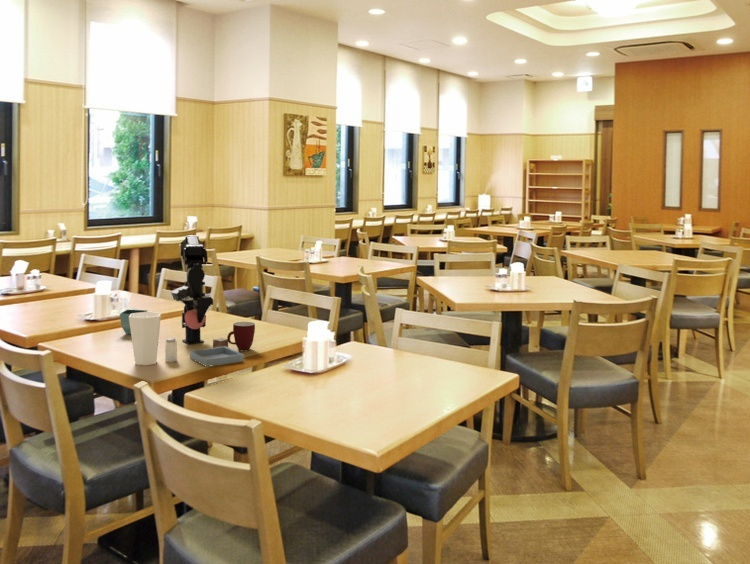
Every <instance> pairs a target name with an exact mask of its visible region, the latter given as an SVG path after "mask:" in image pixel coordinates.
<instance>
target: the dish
mask: <svg viewBox="0 0 750 564" xmlns="http://www.w3.org/2000/svg"><path fill="white" fill-rule="evenodd" d="M191 358H192V359H191ZM189 359H191V360H193V359H194V360H196V361H198V362H200V363H202V364H204V365H206V366H210V365H217V366H222V365H228V364H236V363H242V362H244V354H243V353H241V352H240V351H237V350H234V349H232V348H230V347H229V346H228V347H226V346H223V347H216V348H213V347H211V348H210V347H209V348H202V349H201V348H200V349H194V350H189ZM194 360H193V361H194ZM196 361H195V362H196ZM198 362H197V363H198ZM200 363H199V364H200ZM202 364H201V365H202ZM204 365H203V366H204ZM206 366H205V367H206ZM210 367H211V366H210Z"/></svg>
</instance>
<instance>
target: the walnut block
mask: <svg viewBox="0 0 750 564" xmlns="http://www.w3.org/2000/svg"><path fill="white" fill-rule="evenodd" d="M223 346H226V347H228V348H229V342H228V340H227V338H225V337H218V338H213V339H212V348H216V347H223Z"/></svg>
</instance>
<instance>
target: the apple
mask: <svg viewBox="0 0 750 564" xmlns="http://www.w3.org/2000/svg"><path fill="white" fill-rule="evenodd" d="M185 322H186V324H187V326H188V327H189V328H192V329H199V328H200V329H201V328H203V327H202V326H203V324H204V322H205V316H204V318H203V320H202V322H201V323H198V320H197V312H196V309H195V308H194V309H193V310H189V311H187V312H186V314H185Z"/></svg>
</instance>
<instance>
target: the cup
mask: <svg viewBox="0 0 750 564" xmlns="http://www.w3.org/2000/svg"><path fill="white" fill-rule="evenodd" d="M161 317H162V313H161V312H155V311H154V312H153V311H148V312H140V313H132V314H130V316H129V323H130V330H131V334H130V337H131V342H132V350H133V356H134V363H135V365H136V366H150V365H155V364H157V360H158V351H159V348H158V347H159V340H160V330H161V329H160V328H161Z"/></svg>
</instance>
